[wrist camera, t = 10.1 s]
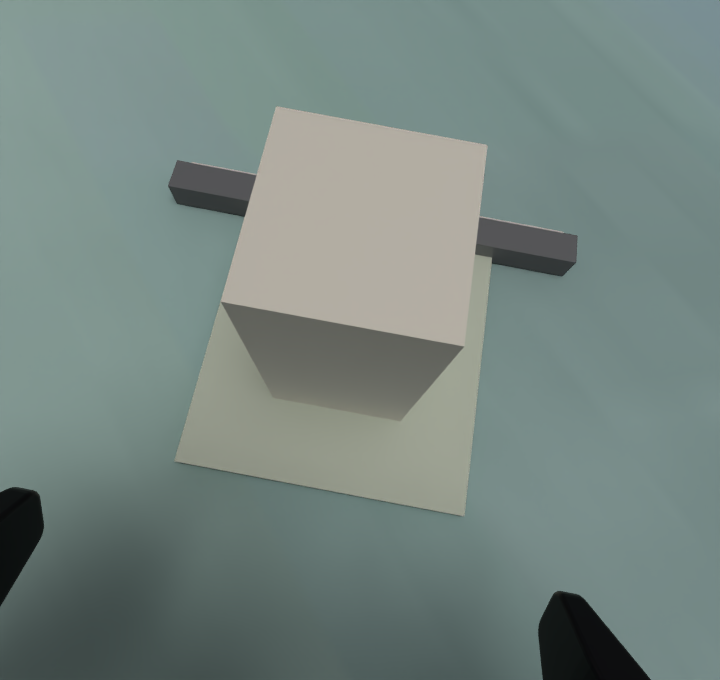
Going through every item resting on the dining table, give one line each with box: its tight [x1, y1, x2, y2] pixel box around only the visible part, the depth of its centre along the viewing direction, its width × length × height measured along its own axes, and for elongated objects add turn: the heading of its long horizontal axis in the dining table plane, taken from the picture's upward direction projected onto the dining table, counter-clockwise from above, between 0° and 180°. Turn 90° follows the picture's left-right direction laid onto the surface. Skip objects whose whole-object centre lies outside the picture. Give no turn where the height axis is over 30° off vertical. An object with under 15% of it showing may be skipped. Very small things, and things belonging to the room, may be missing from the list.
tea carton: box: [221, 106, 487, 421], centre depth 14 cm, size 5×5×9 cm
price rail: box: [168, 160, 577, 276], centre depth 20 cm, size 16×1×1 cm, turn 80°
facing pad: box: [174, 255, 492, 516], centre depth 19 cm, size 10×10×1 cm
